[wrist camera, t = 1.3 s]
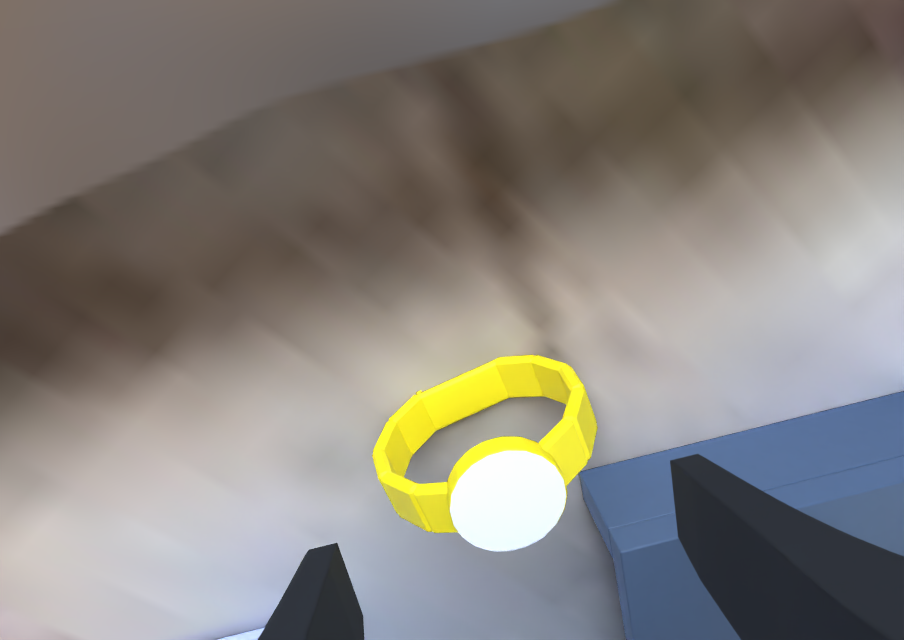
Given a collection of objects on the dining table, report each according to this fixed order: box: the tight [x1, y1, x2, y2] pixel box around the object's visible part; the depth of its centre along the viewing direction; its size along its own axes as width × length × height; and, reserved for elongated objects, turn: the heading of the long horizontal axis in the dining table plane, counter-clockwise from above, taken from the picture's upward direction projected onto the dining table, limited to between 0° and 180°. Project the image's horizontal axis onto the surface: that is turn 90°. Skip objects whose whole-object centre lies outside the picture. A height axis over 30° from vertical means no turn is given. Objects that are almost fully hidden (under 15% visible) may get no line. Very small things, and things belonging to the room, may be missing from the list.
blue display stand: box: [579, 391, 904, 640], centre depth 21 cm, size 12×12×6 cm
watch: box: [372, 355, 598, 551], centre depth 17 cm, size 6×3×6 cm, turn 111°
